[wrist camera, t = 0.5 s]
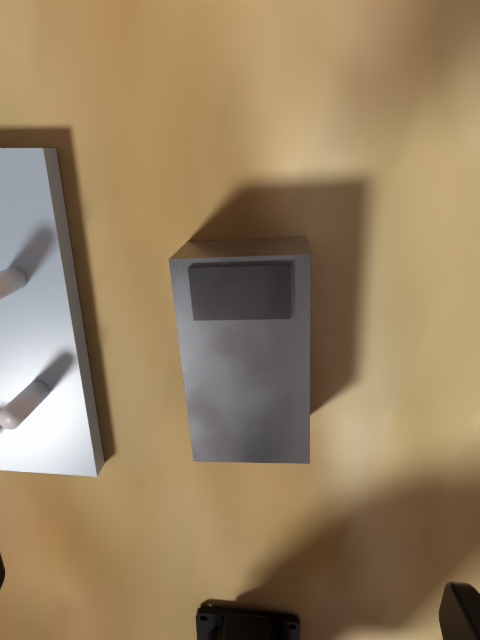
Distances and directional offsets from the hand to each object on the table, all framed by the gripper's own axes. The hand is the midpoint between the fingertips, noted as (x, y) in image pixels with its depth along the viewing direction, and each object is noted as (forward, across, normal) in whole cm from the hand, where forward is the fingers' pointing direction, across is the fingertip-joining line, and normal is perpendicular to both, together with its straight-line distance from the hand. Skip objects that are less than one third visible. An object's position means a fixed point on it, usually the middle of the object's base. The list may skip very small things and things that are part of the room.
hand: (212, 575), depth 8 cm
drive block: (+12, 0, 0) cm, 12 cm away
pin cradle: (+12, +14, 0) cm, 18 cm away
